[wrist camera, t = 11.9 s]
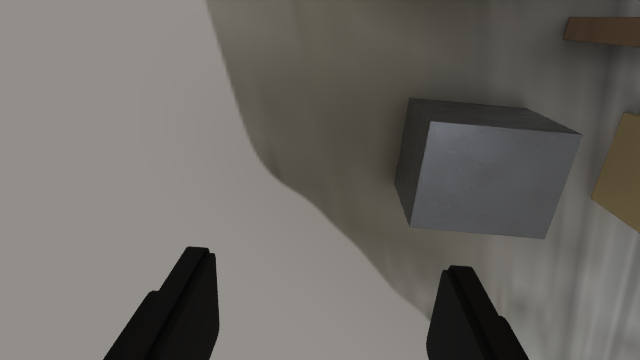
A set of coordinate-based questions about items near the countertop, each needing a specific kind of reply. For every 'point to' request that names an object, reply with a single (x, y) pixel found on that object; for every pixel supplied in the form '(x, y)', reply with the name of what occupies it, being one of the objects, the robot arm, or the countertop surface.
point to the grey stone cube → (482, 168)
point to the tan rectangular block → (622, 173)
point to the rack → (604, 30)
